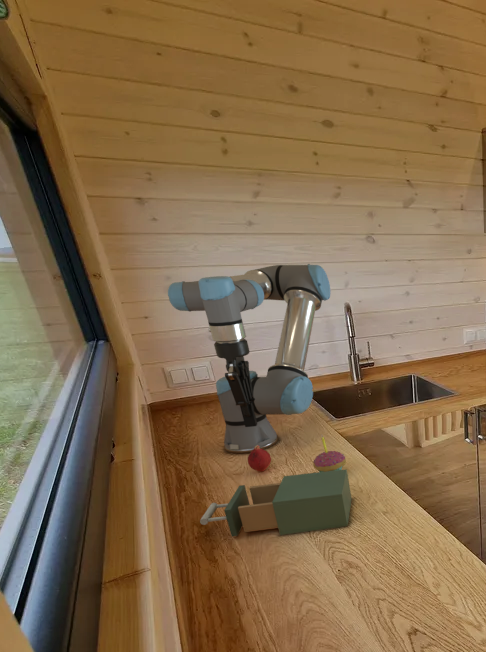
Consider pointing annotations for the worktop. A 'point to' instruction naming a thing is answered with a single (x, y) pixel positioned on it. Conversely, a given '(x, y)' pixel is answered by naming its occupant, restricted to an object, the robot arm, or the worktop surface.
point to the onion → (259, 459)
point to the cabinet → (312, 502)
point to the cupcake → (329, 460)
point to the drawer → (247, 510)
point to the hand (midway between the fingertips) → (251, 425)
